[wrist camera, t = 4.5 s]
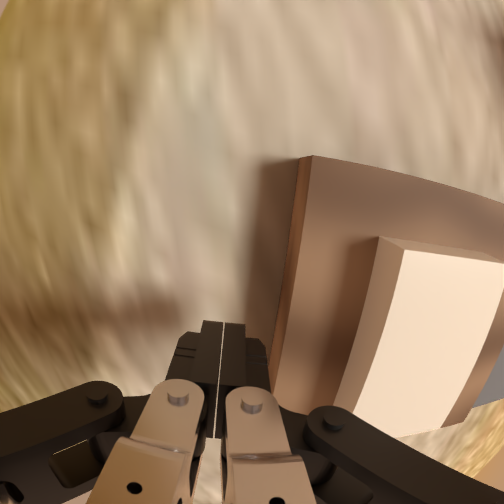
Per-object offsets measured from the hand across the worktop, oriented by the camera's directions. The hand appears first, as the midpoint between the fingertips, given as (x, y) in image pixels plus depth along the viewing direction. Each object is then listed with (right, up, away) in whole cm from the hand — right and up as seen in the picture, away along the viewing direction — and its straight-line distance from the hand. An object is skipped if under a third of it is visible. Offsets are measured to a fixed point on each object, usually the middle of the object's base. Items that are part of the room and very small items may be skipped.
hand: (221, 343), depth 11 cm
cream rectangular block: (+8, -1, +1) cm, 8 cm away
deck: (+9, 0, +4) cm, 10 cm away
